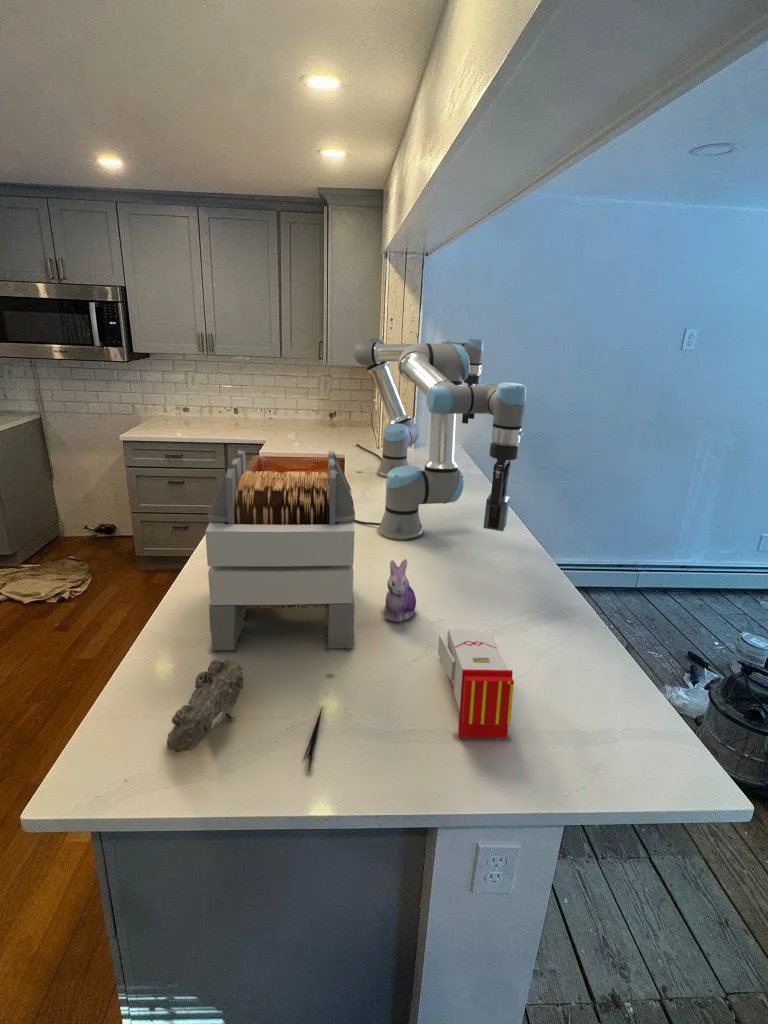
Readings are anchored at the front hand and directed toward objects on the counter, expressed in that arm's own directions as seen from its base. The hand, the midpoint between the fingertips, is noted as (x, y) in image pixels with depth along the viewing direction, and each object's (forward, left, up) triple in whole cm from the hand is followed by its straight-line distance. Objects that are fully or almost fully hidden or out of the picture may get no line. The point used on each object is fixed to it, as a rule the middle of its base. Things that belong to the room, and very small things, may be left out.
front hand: (495, 523), depth 159 cm
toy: (+29, -41, -19) cm, 54 cm away
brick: (0, 0, -1) cm, 1 cm away
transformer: (-20, -55, -19) cm, 62 cm away
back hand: (-82, +81, +8) cm, 116 cm away
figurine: (-3, -32, -19) cm, 37 cm away
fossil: (+4, -87, -19) cm, 89 cm away
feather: (+17, -71, -19) cm, 76 cm away
